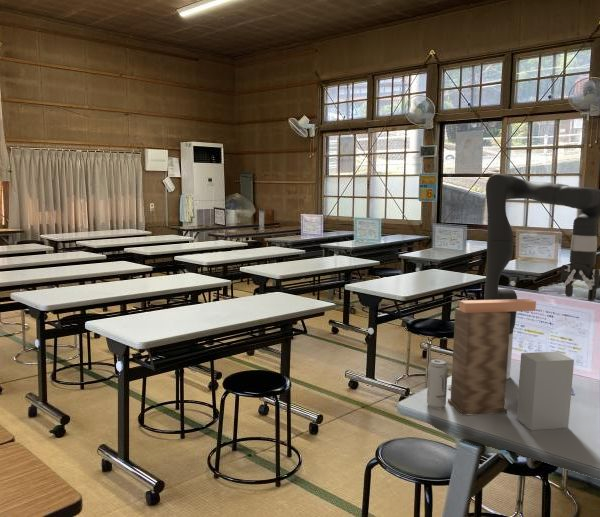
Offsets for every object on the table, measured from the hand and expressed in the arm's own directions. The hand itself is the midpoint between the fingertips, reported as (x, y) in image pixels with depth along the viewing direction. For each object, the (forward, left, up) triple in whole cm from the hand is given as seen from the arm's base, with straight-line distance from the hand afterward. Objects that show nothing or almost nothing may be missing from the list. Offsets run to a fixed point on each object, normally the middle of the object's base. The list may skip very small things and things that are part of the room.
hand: (579, 298), depth 181 cm
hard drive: (-11, +6, -36) cm, 38 cm away
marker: (-15, -28, -35) cm, 48 cm away
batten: (-4, -29, -3) cm, 30 cm away
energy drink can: (-10, -46, -35) cm, 59 cm away
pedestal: (-5, -34, -35) cm, 49 cm away
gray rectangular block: (+11, -23, -35) cm, 43 cm away
